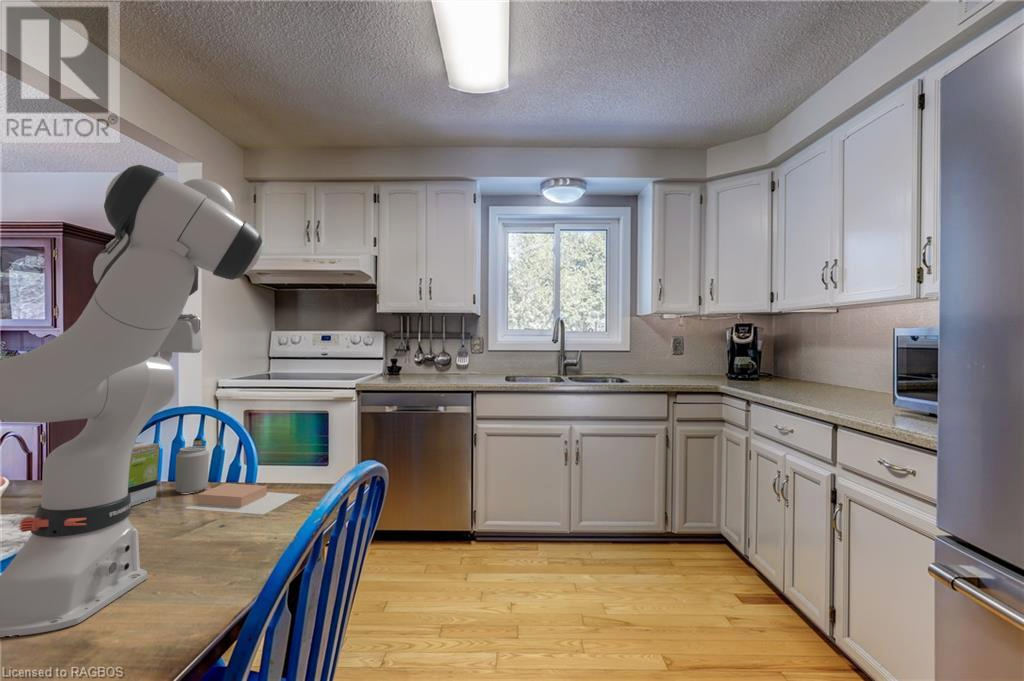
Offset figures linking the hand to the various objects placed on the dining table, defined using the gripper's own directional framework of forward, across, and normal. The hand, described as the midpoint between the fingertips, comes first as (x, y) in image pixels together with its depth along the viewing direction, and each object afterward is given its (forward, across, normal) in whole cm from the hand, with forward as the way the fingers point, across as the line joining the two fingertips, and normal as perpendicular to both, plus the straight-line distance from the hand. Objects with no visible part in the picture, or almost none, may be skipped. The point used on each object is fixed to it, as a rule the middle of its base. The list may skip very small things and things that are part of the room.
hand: (158, 371), depth 115 cm
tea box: (+34, +14, -4) cm, 37 cm away
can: (+34, +6, -18) cm, 39 cm away
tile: (+32, -17, -12) cm, 39 cm away
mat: (+34, -15, -12) cm, 39 cm away
